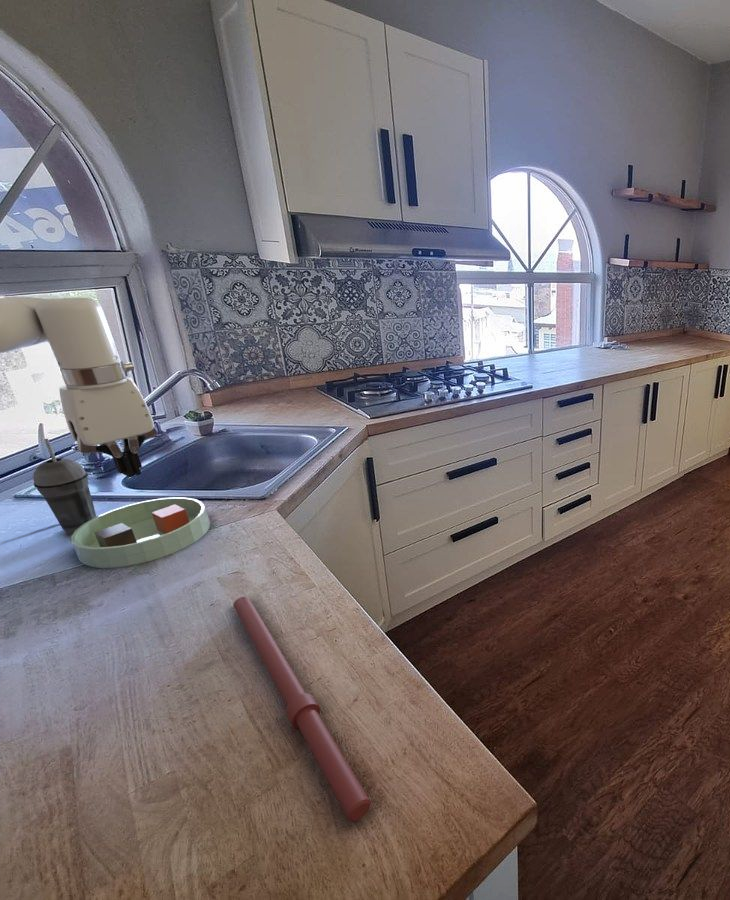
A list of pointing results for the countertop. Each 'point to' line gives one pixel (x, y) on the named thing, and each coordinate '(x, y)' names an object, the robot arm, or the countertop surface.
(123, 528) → the walnut block
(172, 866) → the countertop surface
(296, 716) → the rolling pin
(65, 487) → the beverage cup
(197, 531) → the bowl
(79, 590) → the countertop surface
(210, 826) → the countertop surface
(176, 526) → the terracotta block
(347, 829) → the countertop surface
